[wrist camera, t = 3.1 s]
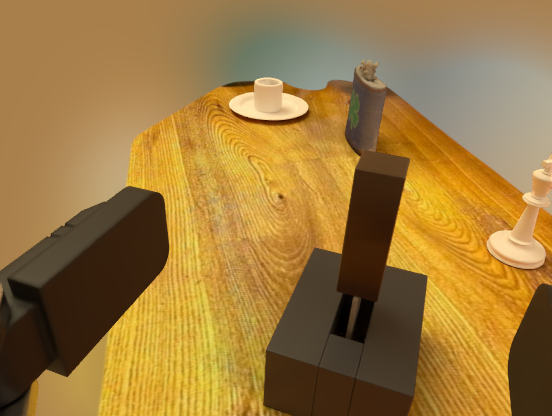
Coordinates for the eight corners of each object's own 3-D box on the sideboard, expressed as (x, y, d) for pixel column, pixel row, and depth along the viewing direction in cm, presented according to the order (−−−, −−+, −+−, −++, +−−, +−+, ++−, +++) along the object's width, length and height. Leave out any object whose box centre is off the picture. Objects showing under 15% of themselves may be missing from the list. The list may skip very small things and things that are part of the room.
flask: (377, 157, 58) (393, 72, 52) (354, 157, 57) (367, 71, 52) (360, 128, 65) (372, 51, 60) (340, 128, 65) (350, 50, 59)
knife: (322, 374, 30) (353, 171, 22) (332, 340, 32) (364, 146, 24) (358, 386, 29) (404, 181, 21) (366, 350, 32) (410, 155, 24)
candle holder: (282, 92, 77) (283, 66, 75) (323, 117, 68) (326, 88, 66) (216, 102, 72) (215, 74, 69) (252, 130, 63) (252, 99, 61)
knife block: (263, 405, 28) (265, 349, 25) (308, 297, 36) (314, 247, 33) (395, 451, 26) (414, 396, 23) (412, 326, 34) (427, 275, 31)
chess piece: (556, 262, 41) (605, 163, 36) (515, 274, 39) (558, 171, 34) (514, 232, 45) (552, 137, 40) (474, 241, 43) (508, 144, 38)
